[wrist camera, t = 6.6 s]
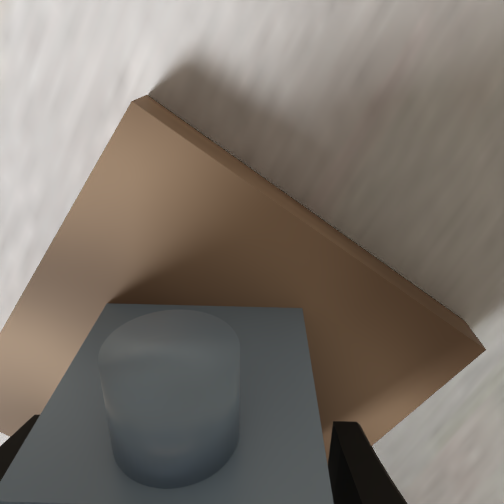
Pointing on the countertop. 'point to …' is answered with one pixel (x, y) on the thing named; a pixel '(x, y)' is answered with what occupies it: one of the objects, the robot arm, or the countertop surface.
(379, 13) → the countertop surface
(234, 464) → the duct sleeve
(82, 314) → the base
